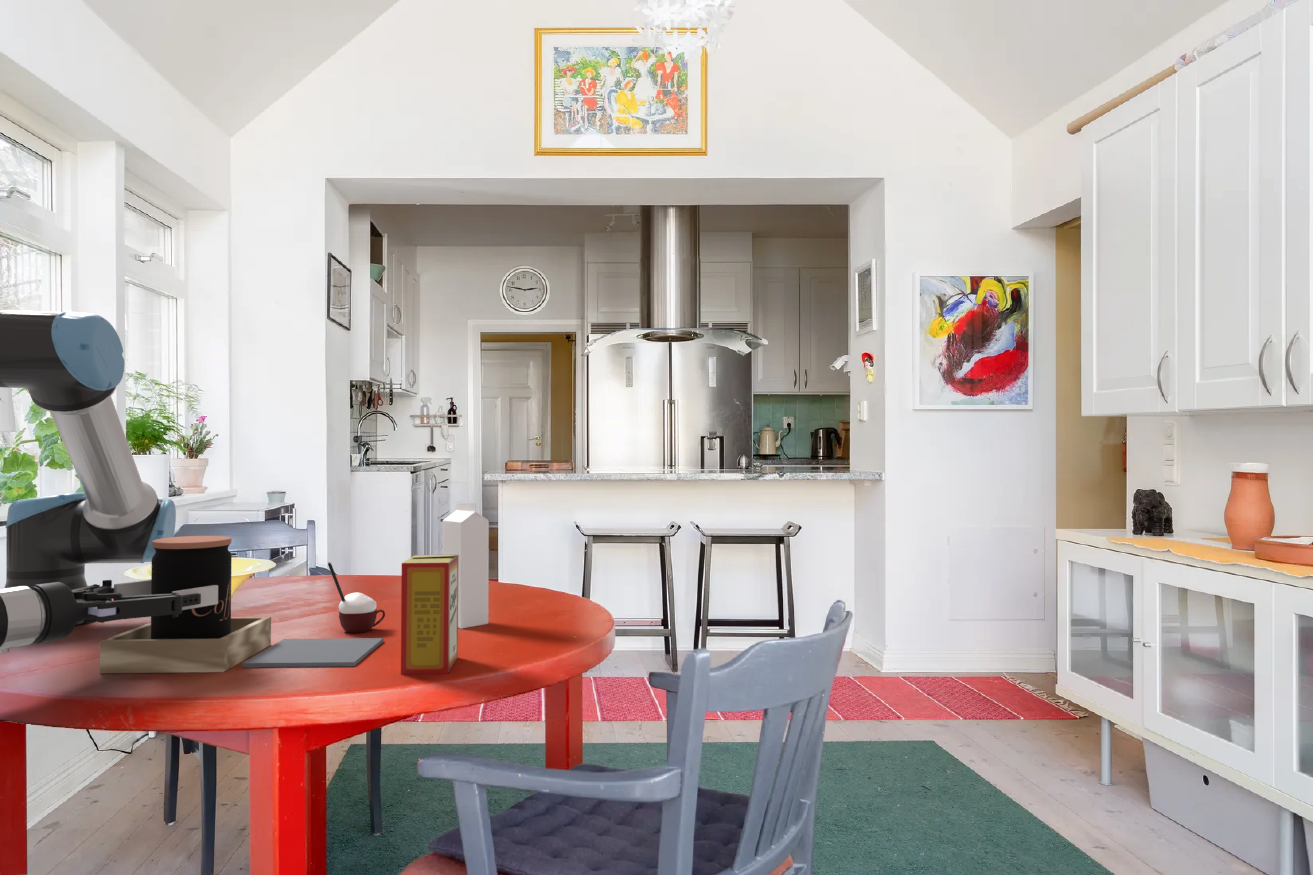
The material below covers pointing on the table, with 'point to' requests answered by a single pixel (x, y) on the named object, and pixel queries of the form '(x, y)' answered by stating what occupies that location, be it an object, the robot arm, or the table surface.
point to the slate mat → (314, 652)
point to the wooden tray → (184, 649)
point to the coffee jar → (192, 585)
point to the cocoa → (356, 610)
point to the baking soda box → (429, 614)
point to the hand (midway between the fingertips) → (187, 590)
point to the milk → (469, 561)
